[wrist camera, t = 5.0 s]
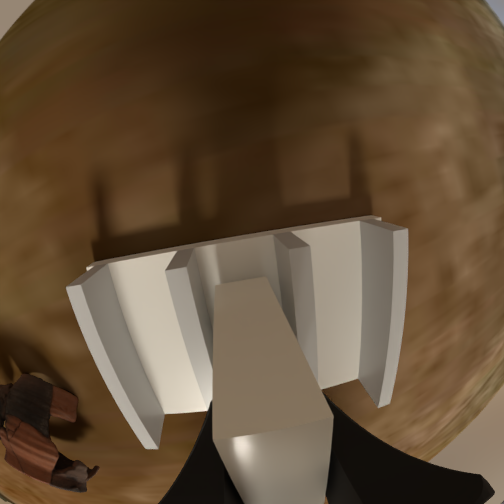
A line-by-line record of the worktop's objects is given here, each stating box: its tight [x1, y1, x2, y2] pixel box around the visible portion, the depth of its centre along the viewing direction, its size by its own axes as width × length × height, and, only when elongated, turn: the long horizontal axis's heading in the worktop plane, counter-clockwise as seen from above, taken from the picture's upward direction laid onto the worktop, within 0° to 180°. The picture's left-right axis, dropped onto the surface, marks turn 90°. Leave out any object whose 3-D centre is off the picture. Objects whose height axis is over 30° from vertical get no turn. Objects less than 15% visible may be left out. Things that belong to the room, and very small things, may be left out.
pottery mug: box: [0, 374, 99, 492], centre depth 13 cm, size 12×10×8 cm
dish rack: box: [66, 215, 408, 449], centre depth 13 cm, size 10×15×4 cm, turn 98°
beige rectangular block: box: [212, 276, 334, 504], centre depth 9 cm, size 7×2×8 cm, turn 8°
